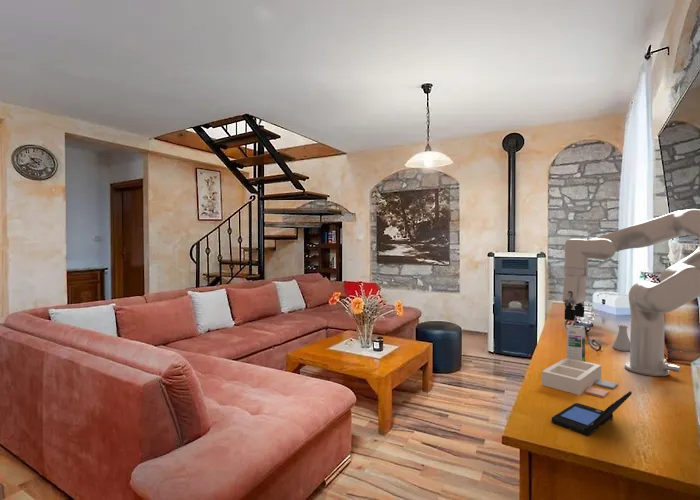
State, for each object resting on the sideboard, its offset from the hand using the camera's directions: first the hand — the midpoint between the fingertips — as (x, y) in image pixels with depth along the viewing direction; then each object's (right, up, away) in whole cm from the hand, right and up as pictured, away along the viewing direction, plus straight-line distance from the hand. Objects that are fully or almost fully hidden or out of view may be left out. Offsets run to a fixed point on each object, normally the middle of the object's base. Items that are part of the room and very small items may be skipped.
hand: (574, 318), depth 143 cm
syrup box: (+1, -18, 0) cm, 18 cm away
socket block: (-8, -18, -18) cm, 27 cm away
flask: (+32, -17, +20) cm, 42 cm away
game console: (-21, -20, -44) cm, 53 cm away
